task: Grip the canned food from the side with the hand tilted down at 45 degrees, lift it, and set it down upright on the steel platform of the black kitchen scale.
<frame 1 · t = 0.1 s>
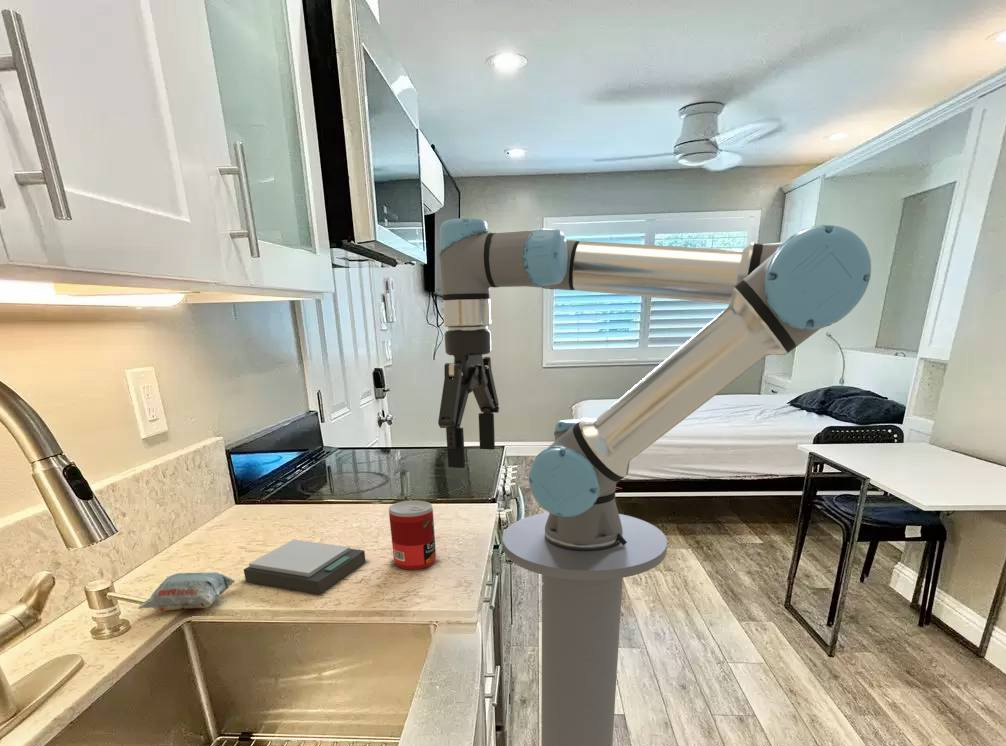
hand: (472, 457, 100), 20 cm above the worktop, tool pointing down, fingers open, 13 cm apart
packaged food: (191, 606, 94), on the worktop
kitchen scale: (307, 571, 105), on the worktop
canned food: (415, 562, 108), on the worktop
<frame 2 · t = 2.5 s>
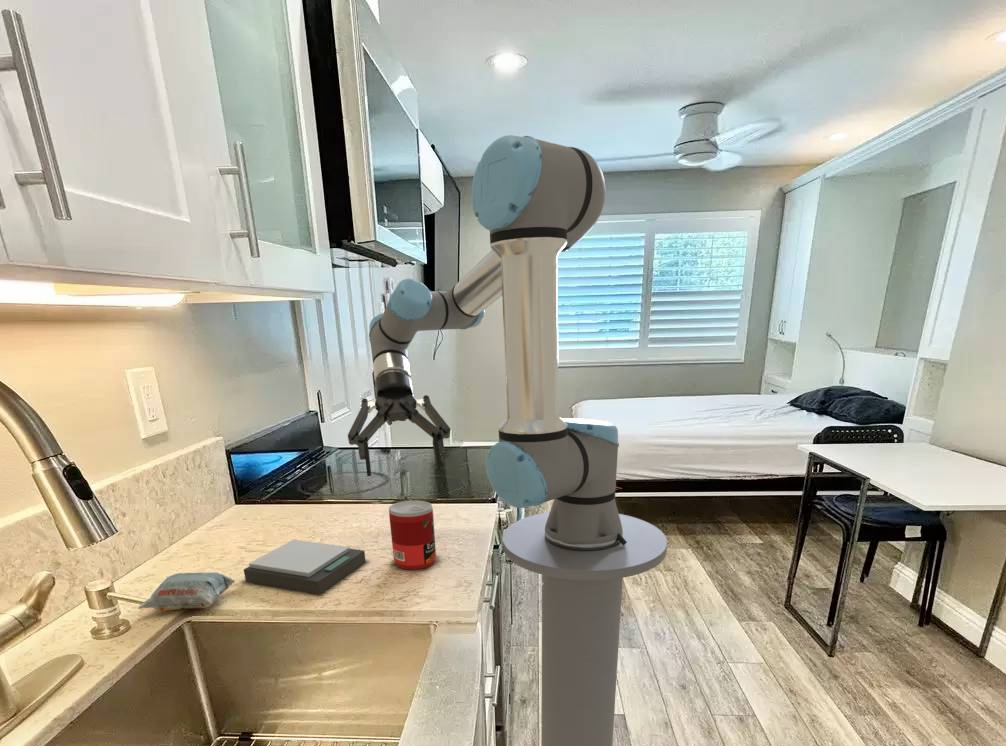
hand: (404, 470, 111), 15 cm above the worktop, tool tilted 45°, fingers open, 13 cm apart
nothing on the worktop moved.
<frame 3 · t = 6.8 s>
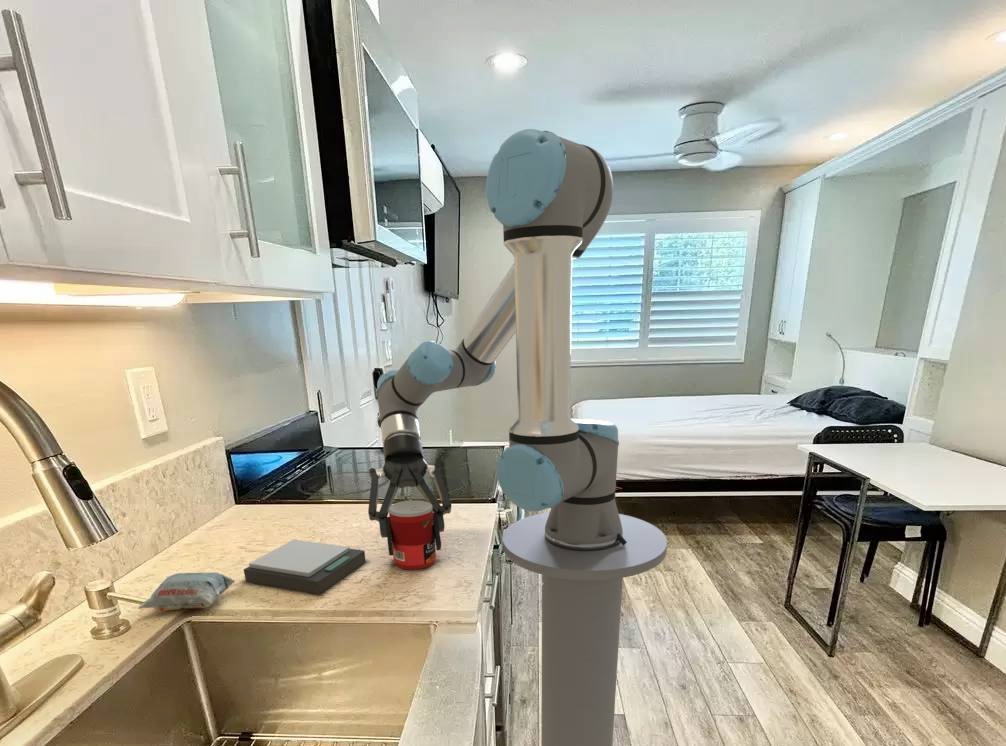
hand: (415, 549, 103), 4 cm above the worktop, tool tilted 45°, fingers closed on canned food, 8 cm apart
canned food: (415, 562, 108), on the worktop, touching gripper
everything else where it was.
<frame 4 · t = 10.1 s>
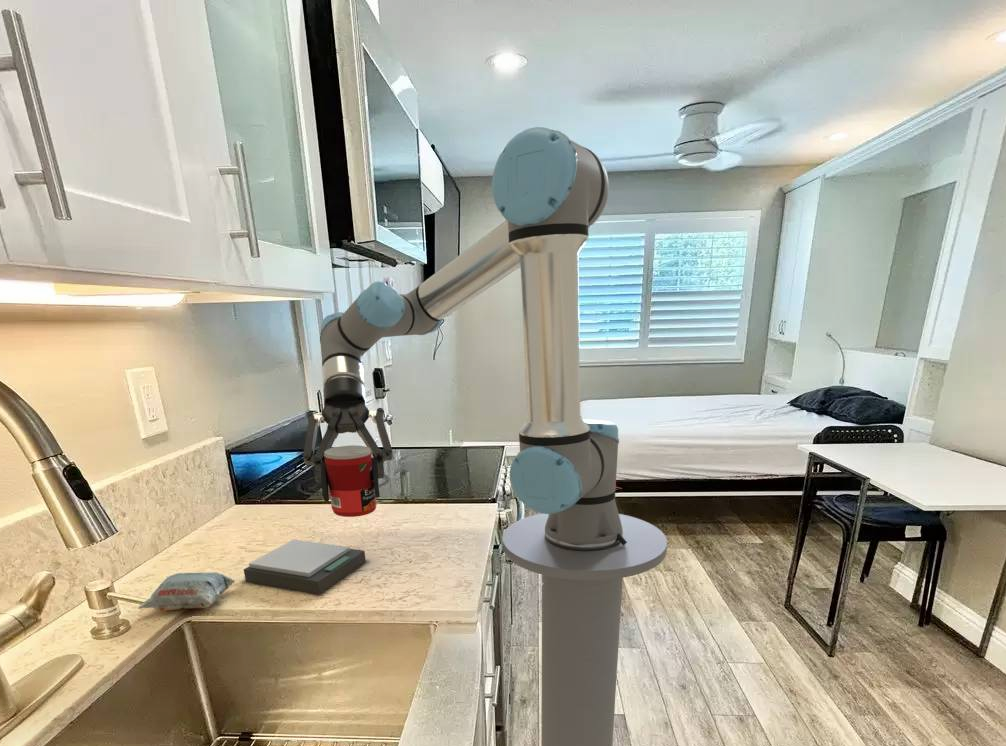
hand: (351, 495, 98), 15 cm above the worktop, tool tilted 45°, fingers closed on canned food, 8 cm apart
canned food: (355, 511, 102), point 11 cm above the worktop, touching gripper
everything else where it was.
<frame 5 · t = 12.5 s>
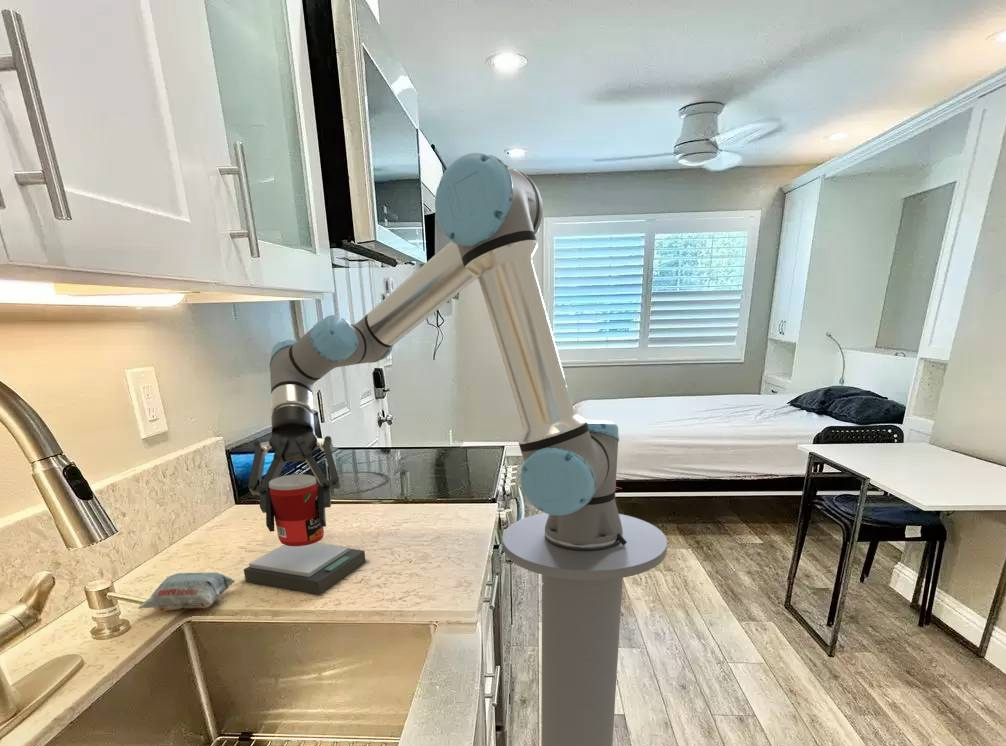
hand: (296, 525, 98), 10 cm above the worktop, tool tilted 45°, fingers closed on canned food, 8 cm apart
canned food: (302, 539, 103), point 6 cm above the worktop, touching gripper
everything else where it was.
when the fingers open (7 cm above the worktop, at t = 13.9 s): canned food stays where it is, resting on kitchen scale.
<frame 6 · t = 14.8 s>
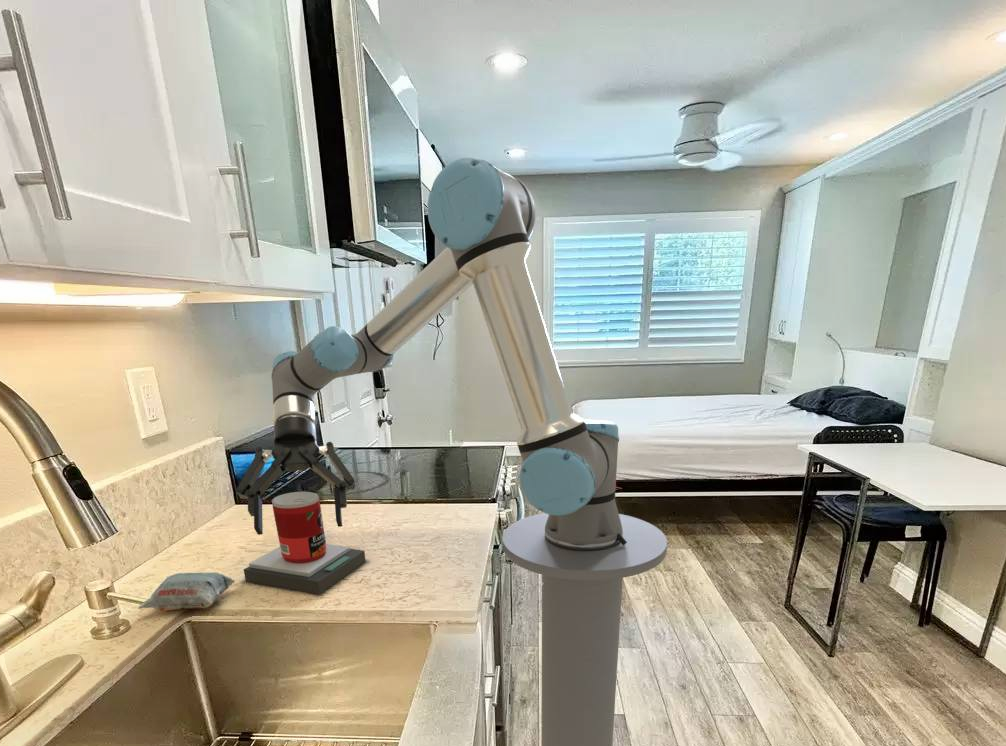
hand: (299, 527, 100), 9 cm above the worktop, tool tilted 45°, fingers open, 13 cm apart
canned food: (305, 556, 104), point 3 cm above the worktop, touching kitchen scale
everything else where it was.
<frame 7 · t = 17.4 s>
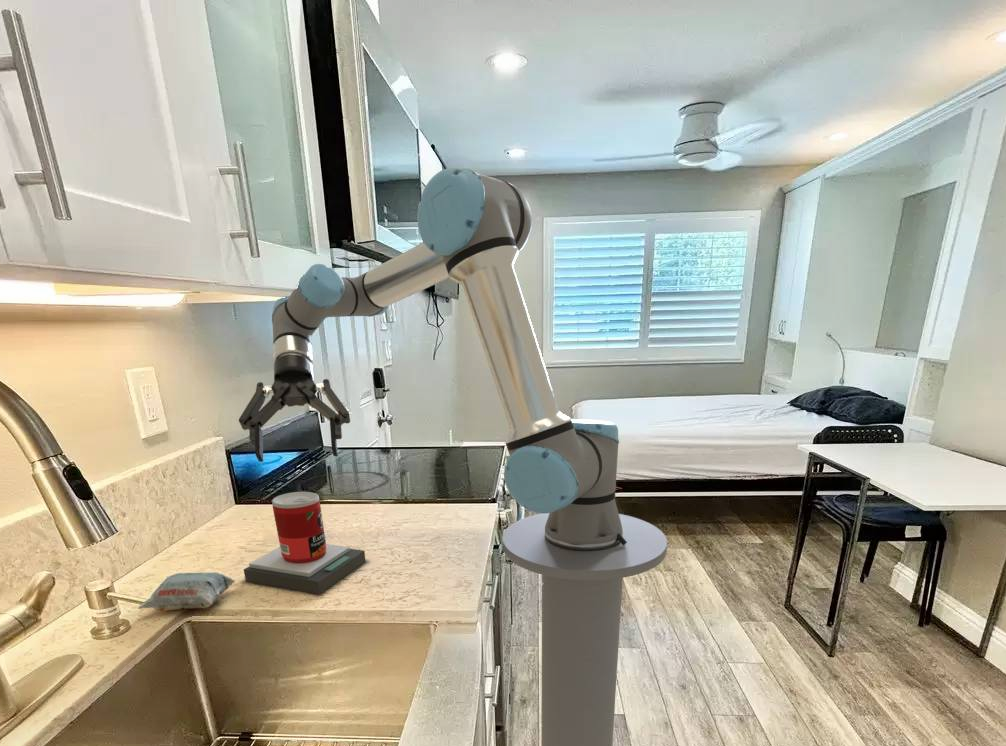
hand: (297, 455, 107), 19 cm above the worktop, tool tilted 45°, fingers open, 13 cm apart
nothing on the worktop moved.
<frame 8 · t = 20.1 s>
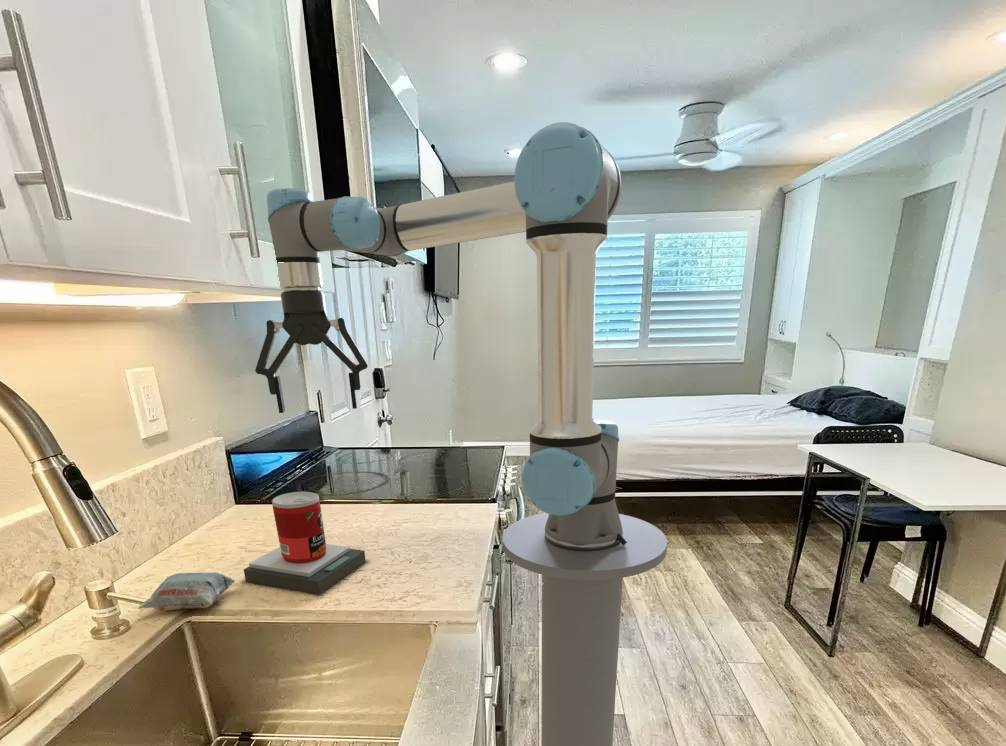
hand: (319, 409, 110), 27 cm above the worktop, tool pointing down, fingers open, 13 cm apart
nothing on the worktop moved.
at the end: canned food inside the target area on the kitchen scale (0.9 cm from its centre), point 3.0 cm above the kitchen scale's base; canned food tilted 0°; the gripper is holding nothing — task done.
